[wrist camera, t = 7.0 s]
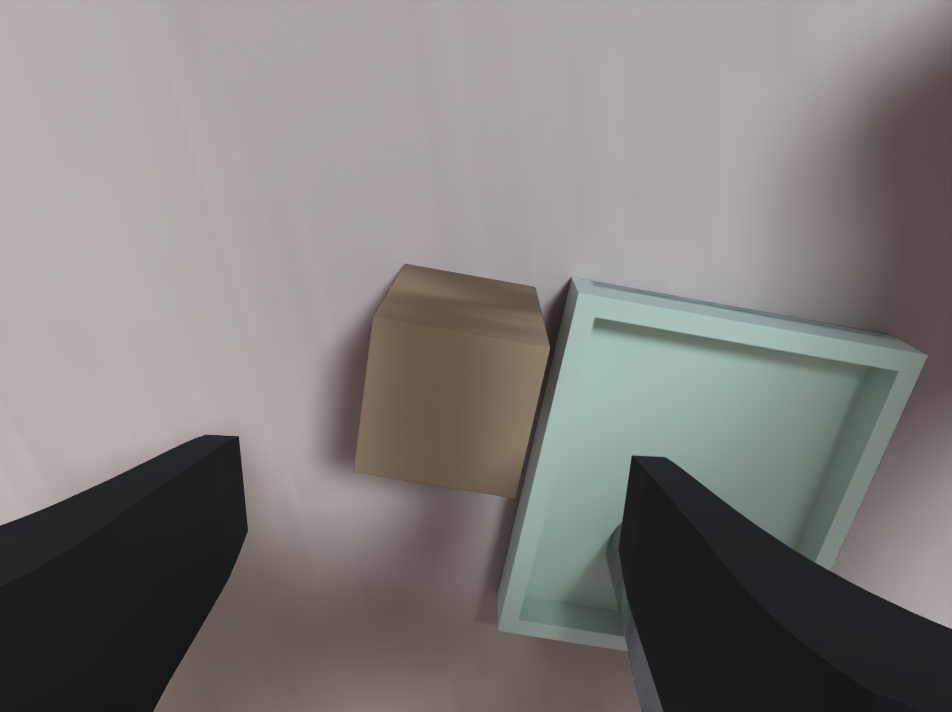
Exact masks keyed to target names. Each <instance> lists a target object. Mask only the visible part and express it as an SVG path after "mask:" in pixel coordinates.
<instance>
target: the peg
mask: <svg viewBox="0 0 952 712" xmlns="http://www.w3.org/2000/svg"><path fill="white" fill-rule="evenodd" d="M621 527H622V523H621V524H620V525H619V526H618V527H617V528H616V529H615V531H614V532H613V533H612V535H611V537H610V539H609V542H608V545H607V551H606V557H607V563H608V568H609V572H610V576H611V580H612V585H613V589H614V593H615V598H616V602H617V606H618V610H619V615H620V619H621V623H622V628H623V632H624V636H625V641H626V645H627V649H628V653H629V658H630V662H631V666H632V671H633V675H634V679H635V683H636V688H637V692H638V696H639V701H640V705H641V709H642V712H663V709H662V706H661V703H660V699H659V696H658V693H657V690H656V687H655V684H654V681H653V678H652V675H651V672H650V669H649V666H648V663H647V660H646V656H645V653H644V650H643V647H642V644H641V641H640V638H639V635H638V632H637V629H636V625H635V622H634V619H633V616H632V613H631V610H630V606H629V603H628V600H627V596H626V590H625V585H624V580H623V574H622V568H621V562H620V556H619V550H618V548H619V541H620V534H621Z"/></svg>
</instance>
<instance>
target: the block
mask: <svg viewBox="0 0 952 712" xmlns="http://www.w3.org/2000/svg"><path fill="white" fill-rule="evenodd" d="M549 351H550V345H549V341H548V337H547V333H546V329H545V325H544V321H543V316H542V312H541V308H540V304H539V300H538V296H537V292H536V288H535V287H532V286H526V285H521V284H515V283H510V282H504V281H499V280H493V279H487V278H482V277H476V276H471V275H465V274H460V273H454V272H449V271H443V270H437V269H432V268H426V267H421V266H415V265H410V264H404V266H403V268H402V269H401V271H400V273H399V274H398V276H397V278H396V279H395V281H394V283H393V284H392V286H391V288H390V289H389V291H388V293H387V294H386V296H385V298H384V299H383V301H382V303H381V304H380V306H379V308H378V309H377V311H376V313H375V314H374V316H373V322H372V330H371V338H370V346H369V354H368V361H367V369H366V377H365V385H364V393H363V401H362V409H361V417H360V425H359V433H358V441H357V449H356V457H355V464H354V472H358V473H364V474H370V475H376V476H382V477H388V478H394V479H400V480H406V481H412V482H418V483H424V484H430V485H436V486H442V487H448V488H454V489H460V490H466V491H472V492H478V493H484V494H490V495H496V496H502V497H508V498H514V499H515V498H516V493H517V489H518V485H519V480H520V476H521V472H522V467H523V463H524V459H525V454H526V450H527V446H528V441H529V437H530V433H531V428H532V424H533V420H534V415H535V411H536V407H537V402H538V398H539V394H540V390H541V385H542V381H543V377H544V372H545V368H546V364H547V359H548V355H549Z"/></svg>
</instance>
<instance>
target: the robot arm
mask: <svg viewBox="0 0 952 712" xmlns="http://www.w3.org/2000/svg"><path fill="white" fill-rule="evenodd" d="M247 532H248V527H247V516H246V506H245V496H244V485H243V475H242V465H241V455H240V444H239V436H221V435H204V436H201V437H198V438H195V439H193V440H191V441H188V442H186V443H184V444H182V445H179V446H177V447H175V448H173V449H171V450H169V451H167V452H165V453H163V454H161V455H159V456H157V457H155V458H153V459H151V460H149V461H146V462H144V463H142V464H140V465H138V466H136V467H134V468H132V469H130V470H128V471H126V472H124V473H122V474H120V475H118V476H116V477H114V478H112V479H110V480H108V481H105V482H103V483H101V484H99V485H97V486H94V487H92V488H90V489H88V490H86V491H83V492H81V493H79V494H77V495H74V496H72V497H70V498H68V499H66V500H63V501H61V502H59V503H57V504H54V505H52V506H50V507H47V508H45V509H43V510H40V511H38V512H35V513H33V514H30V515H28V516H25V517H23V518H20V519H17V520H15V521H12V522H9V523H6V524H4V525H1V526H0V712H153V711H154V709H155V707H156V705H157V703H158V701H159V699H160V697H161V695H162V694H163V692H164V690H165V688H166V686H167V684H168V683H169V681H170V679H171V677H172V676H173V674H174V672H175V671H176V669H177V667H178V665H179V664H180V662H181V660H182V659H183V657H184V655H185V654H186V652H187V650H188V648H189V647H190V645H191V643H192V642H193V640H194V638H195V636H196V635H197V633H198V631H199V630H200V628H201V626H202V624H203V623H204V621H205V619H206V618H207V616H208V614H209V612H210V611H211V609H212V607H213V605H214V604H215V602H216V600H217V598H218V597H219V595H220V593H221V591H222V590H223V588H224V586H225V584H226V582H227V581H228V579H229V577H230V574H231V572H232V570H233V567H234V565H235V563H236V560H237V558H238V555H239V553H240V550H241V548H242V545H243V542H244V540H245V537H246V534H247ZM618 550H619V556H620V562H621V568H622V574H623V580H624V585H625V590H626V596H627V600H628V603H629V606H630V610H631V613H632V616H633V619H634V622H635V625H636V629H637V632H638V635H639V638H640V641H641V644H642V647H643V650H644V653H645V656H646V660H647V663H648V666H649V669H650V672H651V675H652V678H653V681H654V684H655V687H656V690H657V693H658V696H659V699H660V703H661V706H662V709H663V712H952V629H950V628H947V627H945V626H943V625H940V624H938V623H936V622H933V621H931V620H929V619H926V618H924V617H922V616H919V615H917V614H915V613H912V612H910V611H908V610H906V609H904V608H902V607H900V606H898V605H896V604H893V603H891V602H889V601H887V600H885V599H883V598H881V597H879V596H877V595H874V594H872V593H870V592H868V591H866V590H864V589H862V588H860V587H859V586H857V585H855V584H853V583H851V582H849V581H847V580H845V579H843V578H841V577H840V576H838V575H836V574H834V573H833V572H831V571H829V570H827V569H826V568H824V567H822V566H820V565H819V564H817V563H815V562H813V561H812V560H810V559H808V558H806V557H805V556H803V555H801V554H800V553H798V552H797V551H795V550H793V549H792V548H790V547H789V546H787V545H786V544H784V543H783V542H781V541H780V540H778V539H777V538H775V537H774V536H772V535H771V534H769V533H768V532H766V531H765V530H763V529H762V528H760V527H759V526H757V525H756V524H754V523H753V522H752V521H750V520H749V519H747V518H746V517H745V516H743V515H742V514H741V513H739V512H738V511H737V510H735V509H734V508H732V507H731V506H730V505H728V504H727V503H726V502H725V501H723V500H722V499H721V498H719V497H718V496H717V495H715V494H714V493H713V492H712V491H710V490H709V489H708V488H706V487H705V486H704V485H703V484H701V483H700V482H699V481H697V480H696V479H695V478H694V477H692V476H691V475H690V474H688V473H687V472H686V471H685V470H683V469H682V468H681V467H679V466H678V465H677V464H675V463H674V462H672V461H671V460H669V459H668V458H666V457H655V456H635V455H632V456H631V464H630V471H629V478H628V485H627V492H626V499H625V506H624V513H623V520H622V527H621V534H620V541H619V548H618Z"/></svg>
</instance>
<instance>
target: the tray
mask: <svg viewBox="0 0 952 712" xmlns="http://www.w3.org/2000/svg"><path fill="white" fill-rule="evenodd" d="M927 357H928V355H927V354H925V353H923V352H921V351H919V350H918V349H916V348H914V347H912V346H910V345H908V344H907V343H905V342H903V341H901V340H899V339H898V338H896V337H894V336H892V335H888V334H883V333H877V332H872V331H866V330H861V329H855V328H850V327H844V326H838V325H833V324H827V323H822V322H816V321H811V320H805V319H800V318H794V317H789V316H783V315H777V314H772V313H766V312H761V311H755V310H750V309H744V308H739V307H733V306H728V305H722V304H716V303H711V302H705V301H700V300H694V299H689V298H683V297H678V296H672V295H666V294H661V293H655V292H650V291H644V290H639V289H633V288H628V287H622V286H617V285H611V284H605V283H600V282H594V281H589V280H583V279H578V278H572V277H571V281H570V286H569V290H568V294H567V299H566V303H565V307H564V311H563V316H562V320H561V324H560V328H559V333H558V337H557V341H556V346H555V350H554V354H553V358H552V363H551V367H550V371H549V375H548V380H547V384H546V388H545V393H544V397H543V401H542V405H541V410H540V414H539V418H538V423H537V427H536V431H535V435H534V440H533V444H532V448H531V452H530V457H529V461H528V465H527V470H526V474H525V478H524V482H523V487H522V491H521V495H520V499H519V504H518V508H517V512H516V517H515V521H514V525H513V529H512V534H511V538H510V542H509V547H508V551H507V555H506V559H505V564H504V568H503V572H502V576H501V581H500V585H499V589H498V594H497V610H498V631H501V632H508V633H514V634H520V635H526V636H533V637H539V638H545V639H552V640H558V641H564V642H570V643H577V644H583V645H589V646H596V647H602V648H608V649H615V650H621V651H627V652H628V649H627V645H626V641H625V636H624V632H623V628H622V623H621V619H620V615H619V610H618V606H617V602H616V598H615V593H614V589H613V585H612V580H611V576H610V572H609V568H608V563H607V557H606V551H607V545H608V542H609V539H610V537H611V535H612V533H613V532H614V531H615V529H616V528H617V527H618V526H619V525H620V524H621V523H622V520H623V513H624V506H625V499H626V492H627V485H628V478H629V471H630V464H631V456H632V455H635V456H655V457H666V458H668V459H669V460H671V461H672V462H674V463H675V464H677V465H678V466H679V467H681V468H682V469H683V470H685V471H686V472H687V473H688V474H690V475H691V476H692V477H694V478H695V479H696V480H697V481H699V482H700V483H701V484H703V485H704V486H705V487H706V488H708V489H709V490H710V491H712V492H713V493H714V494H715V495H717V496H718V497H719V498H721V499H722V500H723V501H725V502H726V503H727V504H728V505H730V506H731V507H732V508H734V509H735V510H737V511H738V512H739V513H741V514H742V515H743V516H745V517H746V518H747V519H749V520H750V521H752V522H753V523H754V524H756V525H757V526H759V527H760V528H762V529H763V530H765V531H766V532H768V533H769V534H771V535H772V536H774V537H775V538H777V539H778V540H780V541H781V542H783V543H784V544H786V545H787V546H789V547H790V548H792V549H793V550H795V551H797V552H798V553H800V554H801V555H803V556H805V557H806V558H808V559H810V560H812V561H813V562H815V563H817V564H819V565H820V566H822V567H824V568H826V569H827V570H829V571H831V569H832V567H833V564H834V562H835V560H836V558H837V556H838V553H839V551H840V549H841V547H842V545H843V542H844V540H845V538H846V536H847V534H848V531H849V529H850V527H851V525H852V523H853V520H854V518H855V516H856V514H857V512H858V509H859V507H860V505H861V503H862V500H863V498H864V496H865V494H866V492H867V489H868V487H869V485H870V483H871V481H872V478H873V476H874V474H875V472H876V470H877V467H878V465H879V463H880V461H881V459H882V456H883V454H884V452H885V450H886V448H887V445H888V443H889V441H890V439H891V437H892V434H893V432H894V430H895V428H896V425H897V423H898V421H899V419H900V417H901V414H902V412H903V410H904V408H905V406H906V403H907V401H908V399H909V397H910V395H911V392H912V390H913V388H914V386H915V384H916V381H917V379H918V377H919V375H920V373H921V370H922V368H923V366H924V364H925V362H926V359H927Z"/></svg>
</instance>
